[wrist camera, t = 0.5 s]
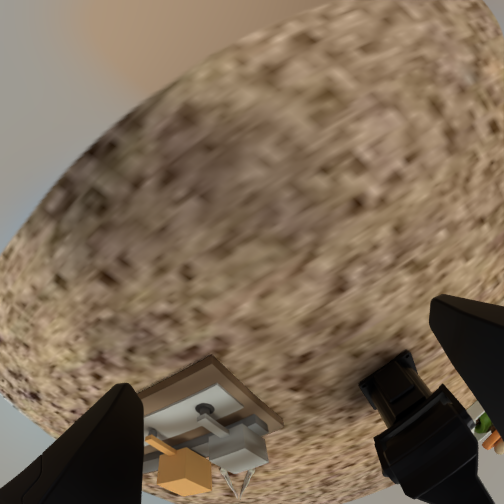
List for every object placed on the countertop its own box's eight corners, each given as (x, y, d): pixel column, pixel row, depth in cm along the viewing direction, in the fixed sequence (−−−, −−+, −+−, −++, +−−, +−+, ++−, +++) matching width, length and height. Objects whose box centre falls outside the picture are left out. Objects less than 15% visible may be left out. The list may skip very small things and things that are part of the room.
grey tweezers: (219, 462, 30) (219, 474, 28) (254, 460, 31) (256, 472, 29) (225, 496, 37) (226, 505, 35) (251, 495, 38) (252, 504, 36)
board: (282, 418, 27) (292, 458, 22) (144, 467, 29) (140, 498, 24) (211, 354, 23) (211, 401, 18) (75, 422, 25) (63, 454, 20)
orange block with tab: (210, 455, 26) (211, 490, 21) (184, 463, 26) (183, 496, 22) (162, 424, 23) (157, 464, 19) (137, 434, 24) (130, 470, 19)
